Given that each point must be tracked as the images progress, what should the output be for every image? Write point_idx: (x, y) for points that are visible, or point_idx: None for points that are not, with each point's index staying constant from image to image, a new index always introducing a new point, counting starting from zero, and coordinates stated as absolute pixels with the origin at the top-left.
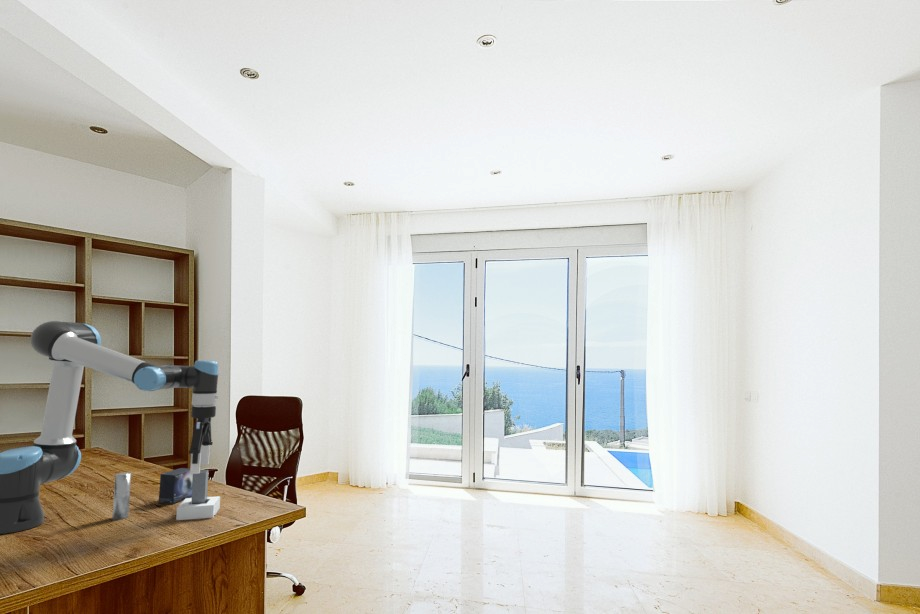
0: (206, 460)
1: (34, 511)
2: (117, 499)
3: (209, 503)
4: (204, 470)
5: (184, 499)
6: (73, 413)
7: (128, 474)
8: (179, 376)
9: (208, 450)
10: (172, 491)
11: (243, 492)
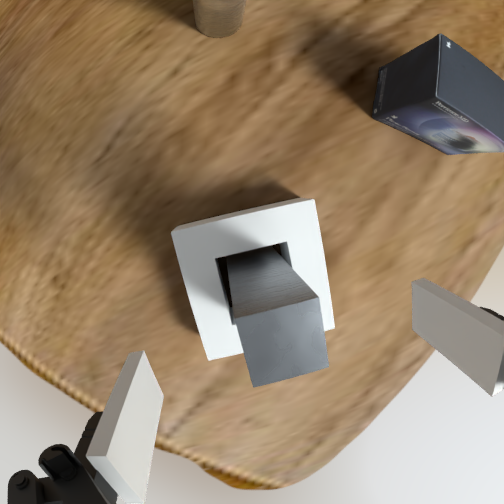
0: (427, 331)
1: None
2: None
3: (231, 336)
4: (313, 352)
5: (419, 139)
6: None
7: None
8: None
9: (470, 372)
10: (395, 106)
11: (468, 299)
